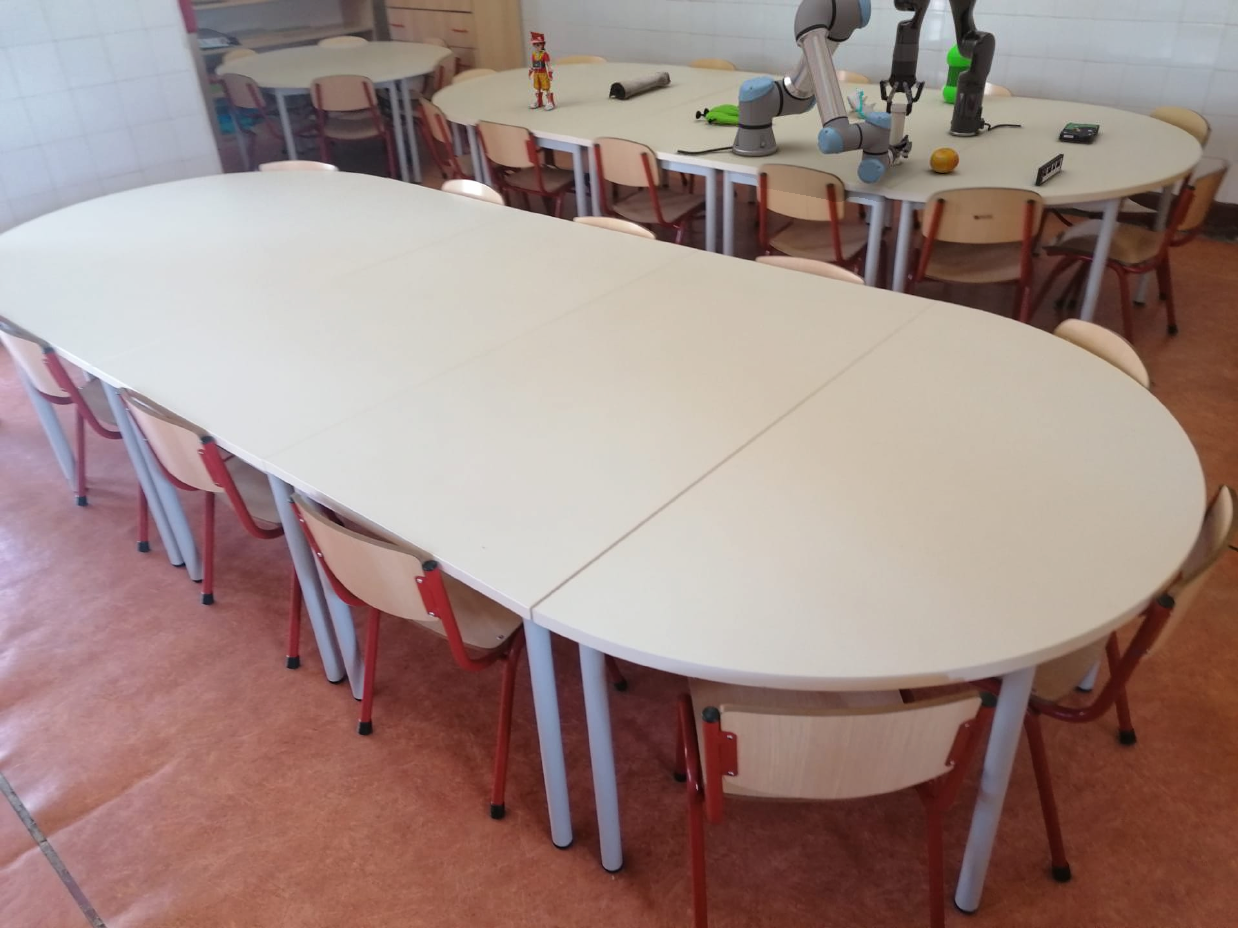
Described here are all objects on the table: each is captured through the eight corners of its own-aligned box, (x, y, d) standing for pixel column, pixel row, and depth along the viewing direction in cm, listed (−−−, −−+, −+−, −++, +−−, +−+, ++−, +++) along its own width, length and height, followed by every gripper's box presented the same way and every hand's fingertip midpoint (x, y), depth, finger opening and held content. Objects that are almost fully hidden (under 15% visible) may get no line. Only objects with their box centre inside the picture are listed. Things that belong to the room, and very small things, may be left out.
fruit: (924, 163, 281) (941, 140, 278) (925, 165, 289) (941, 143, 286) (946, 178, 280) (963, 155, 277) (947, 180, 288) (963, 158, 285)
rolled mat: (651, 76, 408) (662, 61, 399) (662, 93, 408) (674, 79, 400) (605, 92, 391) (616, 77, 383) (617, 110, 391) (628, 95, 383)
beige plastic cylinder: (891, 160, 298) (898, 105, 288) (902, 162, 295) (909, 107, 285) (882, 162, 296) (889, 107, 286) (893, 165, 293) (900, 110, 283)
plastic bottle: (973, 101, 354) (984, 32, 339) (955, 106, 349) (966, 36, 335) (952, 97, 361) (962, 29, 346) (934, 102, 356) (944, 33, 342)
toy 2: (685, 123, 344) (756, 136, 332) (687, 109, 342) (758, 121, 329) (718, 112, 365) (786, 123, 352) (719, 98, 362) (788, 110, 350)
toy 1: (525, 109, 381) (517, 32, 364) (534, 104, 388) (527, 28, 371) (550, 110, 377) (543, 32, 360) (559, 105, 384) (553, 28, 367)
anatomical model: (842, 87, 348) (867, 80, 347) (844, 114, 354) (869, 107, 353) (853, 96, 336) (879, 89, 335) (855, 124, 342) (881, 117, 341)
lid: (894, 113, 284) (894, 108, 283) (887, 109, 288) (888, 104, 287) (910, 111, 284) (910, 106, 283) (903, 107, 288) (903, 102, 288)
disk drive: (1091, 144, 300) (1098, 132, 310) (1093, 136, 299) (1100, 124, 309) (1057, 141, 305) (1066, 130, 315) (1059, 133, 303) (1067, 121, 313)
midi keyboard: (1039, 185, 269) (1043, 168, 266) (1035, 184, 270) (1038, 168, 267) (1060, 170, 279) (1064, 154, 277) (1056, 169, 280) (1060, 153, 277)
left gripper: (852, 168, 284) (870, 148, 301) (908, 173, 277) (924, 152, 294) (854, 143, 280) (873, 125, 297) (911, 148, 273) (927, 128, 290)
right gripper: (931, 56, 277) (923, 113, 287) (884, 54, 283) (878, 110, 292) (926, 61, 272) (918, 119, 281) (879, 59, 277) (872, 116, 287)
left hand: (898, 138), depth 296 cm, fingers closed on beige plastic cylinder, 4 cm apart
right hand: (898, 114), depth 287 cm, fingers closed on lid, 5 cm apart
